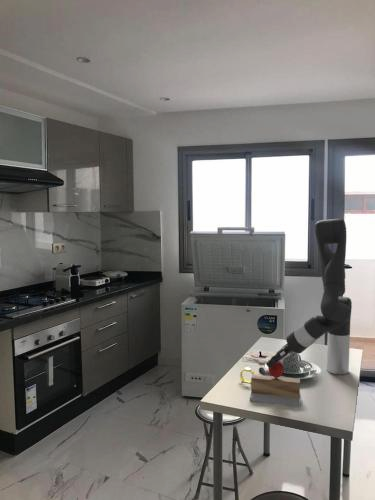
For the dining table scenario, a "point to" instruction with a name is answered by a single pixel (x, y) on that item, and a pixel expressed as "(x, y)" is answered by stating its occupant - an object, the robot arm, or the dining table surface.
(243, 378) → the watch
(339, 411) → the dining table surface
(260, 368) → the bracket
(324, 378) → the dining table surface
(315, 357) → the dining table surface
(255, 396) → the ridge base
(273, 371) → the onion
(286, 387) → the ridge
